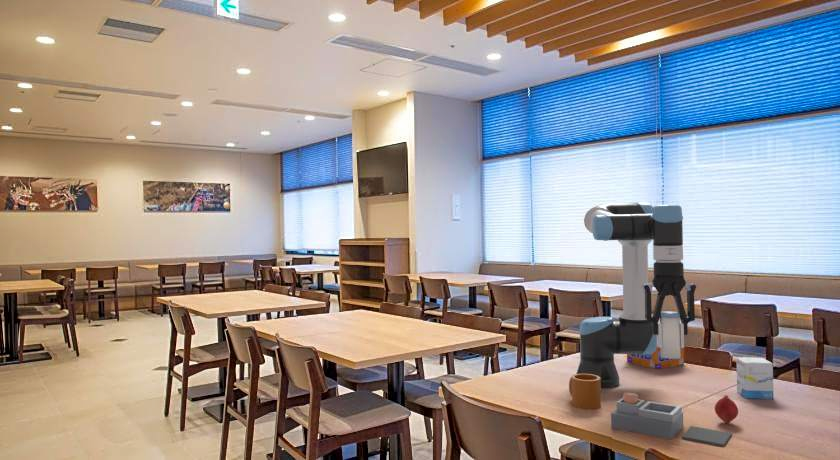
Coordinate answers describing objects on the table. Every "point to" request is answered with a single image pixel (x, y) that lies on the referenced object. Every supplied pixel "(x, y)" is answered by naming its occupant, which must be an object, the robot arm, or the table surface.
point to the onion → (726, 409)
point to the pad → (707, 436)
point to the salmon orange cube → (630, 398)
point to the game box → (656, 359)
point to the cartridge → (670, 334)
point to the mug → (585, 391)
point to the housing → (648, 418)
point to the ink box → (755, 378)
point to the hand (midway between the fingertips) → (670, 346)
